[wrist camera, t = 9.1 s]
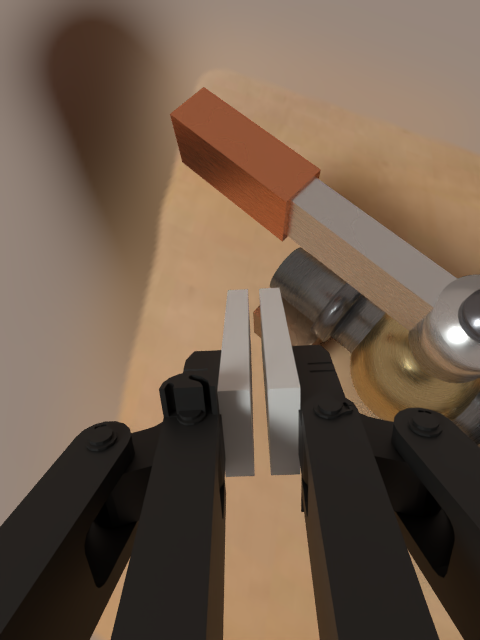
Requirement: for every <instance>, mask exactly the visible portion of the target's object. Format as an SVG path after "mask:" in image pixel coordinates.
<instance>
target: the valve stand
mask: <svg viewBox="0 0 480 640" xmlns="http://www.w3.org/2000/svg"><path fill="white" fill-rule="evenodd" d="M270 288H279V289H280V293H281V298H282V303H283V307H284V312H285V317H286V322H287V326H288V331H289V336H290V341H291V345H292V346H301V345H320V344H321V343H322V341H323V342H325V341H327V340H328V339H329V338H330V337H332V338H334V339H335V340H336V341H337V342H338V343H340V344H341V345H342V346H343V347H345V348H346V349H347V350H348V351H350V352H351V353H352V354H351V361H350V369H351V377H352V381H353V384H354V387H355V390H356V392H357V394H358V395H359V397H360V399H361V400H362V402H363V403H364V404H365V405H366V406H367V408H368V409H370V410H371V411H372V412H373V413H374V414H375V415H377V416H378V417H379V418H381V419H383V420H386V421H392V422H394V416H395V415H396V414H397V413H398V412H399V411H401V410H404V409H407V408H425V409H430V410H433V411H436V412H438V413H441V414H443V415H444V416H446V417H447V418H449V419H450V420H451V421H452V422H453V423H455V424H456V425H457V426H458V427H459V428H460V429H461V430H462V431H463V432H464V433H465V434H466V435H467V436H468V437H469V438H470V439H471V440H472V441H474V442H475V443H476V444H477V445H478V446H479V447H480V378H478V379H475V380H473V381H470V382H466V383H449V382H445V381H441V380H439V379H437V378H435V377H433V376H431V375H430V374H428V373H427V372H426V371H424V370H423V369H422V368H421V367H420V366H419V364H418V363H417V362H416V360H415V359H414V357H413V355H412V353H411V350H410V347H409V341H408V334H409V331H408V330H407V329H406V328H404V327H403V326H402V325H401V324H399V323H398V322H397V321H396V320H394V319H393V318H392V317H390V316H389V315H388V314H387V313H385V312H384V311H383V310H381V309H380V308H379V307H378V306H376V305H375V304H374V303H373V302H371V301H370V300H369V299H367V298H366V297H365V296H364V295H362V294H361V293H360V292H359V291H357V290H356V289H355V288H353V287H352V286H351V285H350V284H348V283H347V282H346V281H344V280H343V279H342V278H341V277H339V276H338V275H337V274H336V273H334V272H333V271H332V270H330V269H329V268H328V267H327V266H325V265H324V264H323V263H321V262H320V261H319V260H318V259H316V258H315V257H314V256H313V255H311V254H309V253H308V252H307V251H305V250H304V249H303V248H298V249H296V250H294V251H293V252H292V253H291V254H290V255H289V256H288V257H287V258H286V259H285V260H284V261H283V263H282V264H281V265H280V266H279V268H278V269H277V271H276V272H275V274H274V276H273V278H272V280H271V283H270ZM253 316H254V332H255V333H256V334H257V335H258V336H259V337H261V318H260V306H259V307H258V308H257V309H256V310H255V311H254V312H253Z"/></svg>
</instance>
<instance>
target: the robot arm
mask: <svg viewBox="0 0 480 640" xmlns="http://www.w3.org/2000/svg"><path fill="white" fill-rule="evenodd" d="M259 294H260V318H261V342H262V359H263V373H264V386H265V400H266V413H267V427H268V440H269V454H270V467H271V475H292V474H300V468H301V474H302V494H301V512H304V514H305V523H306V531H307V539H308V547H309V555H310V563H311V572H312V580H313V588H314V596H315V604H316V612H317V620H318V629H319V637H320V640H439V637H438V634H437V632H436V629H435V626H434V623H433V620H432V617H431V615H430V612H429V609H428V606H427V603H426V600H425V598H424V595H423V592H422V589H421V586H420V584H419V581H418V578H417V575H416V572H415V569H414V567H413V564H412V561H411V558H410V555H409V553H408V551H409V552H410V554H411V555H412V557H413V559H414V560H415V562H416V563H417V565H418V567H419V568H420V570H421V571H422V573H423V575H424V576H425V578H426V579H427V581H428V583H429V584H430V586H431V587H432V589H433V591H434V592H435V594H436V595H437V597H438V599H439V600H440V602H441V603H442V605H443V607H444V608H445V610H446V611H447V613H448V615H449V616H450V618H451V619H452V621H453V623H454V624H455V626H456V627H457V629H458V631H459V632H460V634H461V635H462V637H463V639H464V640H480V447H479V446H478V445H477V444H476V443H475V442H474V441H472V440H471V439H470V438H469V437H468V436H467V435H466V434H465V433H464V432H463V431H462V430H461V429H460V428H459V427H458V426H457V425H456V424H455V423H453V422H452V421H451V420H450V419H449V418H447V417H446V416H444V415H443V414H441V413H438V412H436V411H433V410H430V409H425V408H407V409H404V410H401V411H399V412H398V413H397V414H396V415H395V416H394V422H392V421H386V420H381V419H375V418H371V417H368V416H365V415H363V414H361V413H359V412H358V409H357V408H356V406H355V405H354V403H353V402H351V401H350V400H348V399H347V398H345V395H344V392H343V390H342V387H341V384H340V381H339V379H338V376H337V373H336V372H335V368H334V365H333V364H332V360H331V357H330V354H329V352H328V351H326V350H325V349H324V348H323V347H322V346H320V345H301V346H292V345H291V341H290V336H289V331H288V326H287V322H286V317H285V312H284V307H283V303H282V298H281V293H280V289H279V288H264V289H259ZM159 392H160V398H161V404H162V410H163V415H164V419H163V422H162V423H160V424H158V425H156V426H155V427H152V428H149V429H146V430H142V431H138V432H134V433H131V432H130V428H129V427H127V426H126V425H125V424H124V423H120V422H116V421H111V422H103V423H99V424H95V425H93V426H91V427H89V428H87V429H85V430H84V431H82V432H81V433H80V434H79V435H78V436H77V437H76V438H75V439H74V440H73V441H72V442H71V444H70V445H69V446H68V447H67V449H66V450H65V451H64V452H63V453H62V454H61V456H60V457H59V458H58V459H57V460H56V461H55V463H54V464H53V465H52V466H51V467H50V469H49V470H48V471H47V472H46V473H45V474H44V476H43V477H42V478H41V479H40V480H39V482H38V483H37V484H36V485H35V486H34V488H33V489H32V490H31V491H30V492H29V493H28V495H27V496H26V497H25V498H24V499H23V501H22V502H21V503H20V504H19V505H18V506H17V508H16V509H15V510H14V511H13V512H12V514H11V515H10V516H9V517H8V518H7V519H6V521H5V522H4V523H3V524H2V526H1V527H0V640H90V638H91V636H92V634H93V632H94V630H95V628H96V626H97V624H98V622H99V620H100V617H101V615H102V613H103V611H104V609H105V607H106V605H107V603H108V601H109V599H110V597H111V595H112V593H113V591H114V589H115V587H116V585H117V583H118V581H119V579H120V577H121V575H122V573H123V571H124V569H125V567H126V564H127V562H128V560H129V558H130V561H129V565H128V569H127V574H126V578H125V582H124V586H123V590H122V595H121V599H120V603H119V607H118V611H117V616H116V620H115V624H114V628H113V632H112V636H111V640H223V614H224V565H225V516H226V488H225V474H226V477H235V476H254V439H253V402H252V365H251V340H250V321H249V303H248V289H244V290H228V294H227V303H226V313H225V322H224V332H223V341H222V350H217V351H195V352H194V353H193V354H192V355H191V356H190V357H189V358H188V359H187V360H186V362H185V366H184V372H183V374H178V375H176V376H173V377H171V378H169V379H168V380H166V381H165V382H163V384H162V385H161V387H160V388H159ZM407 549H408V550H407ZM130 556H131V557H130Z"/></svg>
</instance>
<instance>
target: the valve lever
mask: <svg viewBox="0 0 480 640" xmlns="http://www.w3.org/2000/svg"><path fill="white" fill-rule="evenodd" d="M170 116H171V120H172V124H173V128H174V132H175V136H176V139H177V143H178V147H179V151H180V155H181V159H182V162H183V163H184V164H185V165H187V166H188V167H189V168H190V169H192V170H193V171H194V172H195V173H197V174H198V175H199V176H200V177H202V178H203V179H204V180H206V181H207V182H208V183H209V184H211V185H212V186H213V187H214V188H216V189H217V190H218V191H219V192H221V193H222V194H223V195H224V196H226V197H227V198H228V199H230V200H231V201H232V202H233V203H235V204H236V205H237V206H238V207H240V208H241V209H242V210H243V211H245V212H246V213H247V214H248V215H250V216H251V217H252V218H254V219H255V220H256V221H257V222H259V223H260V224H261V225H262V226H264V227H265V228H266V229H267V230H269V231H270V232H271V233H272V234H274V235H275V236H276V237H278V238H279V239H280V240H281V241H283V240H284V239H285V238H287V237H290V238H291V239H292V240H293V241H295V242H296V243H297V244H299V245H300V246H301V247H302V248H304V249H305V250H306V251H307V252H309V253H310V254H311V255H313V256H314V257H315V258H316V259H318V260H319V261H320V262H321V263H323V264H324V265H325V266H327V267H328V268H329V269H330V270H332V271H333V272H334V273H336V274H337V275H338V276H339V277H341V278H342V279H343V280H344V281H346V282H347V283H348V284H350V285H351V286H352V287H353V288H355V289H356V290H357V291H359V292H360V293H361V294H362V295H364V296H365V297H366V298H367V299H369V300H370V301H371V302H373V303H374V304H375V305H376V306H378V307H379V308H380V309H381V310H383V311H384V312H385V313H387V314H388V315H389V316H390V317H392V318H393V319H394V320H396V321H397V322H398V323H399V324H401V325H402V326H403V327H404V328H406V329H407V330H408V331H409V334H408V341H409V347H410V350H411V353H412V355H413V357H414V359H415V360H416V362H417V363H418V364H419V366H420V367H421V368H422V369H423V370H424V371H426V372H427V373H428V374H430V375H431V376H433V377H435V378H437V379H439V380H441V381H445V382H449V383H466V382H470V381H473V380H475V379H478V378H480V275H468V276H464V277H461V278H458V279H457V278H456V277H454V276H453V275H452V274H450V273H449V272H447V271H446V270H445V269H443V268H442V267H440V266H439V265H438V264H436V263H435V262H433V261H432V260H431V259H429V258H428V257H426V256H425V255H424V254H422V253H421V252H419V251H418V250H417V249H415V248H414V247H412V246H411V245H410V244H408V243H407V242H405V241H404V240H403V239H401V238H400V237H398V236H397V235H396V234H394V233H393V232H391V231H390V230H389V229H387V228H386V227H385V226H383V225H382V224H380V223H379V222H378V221H376V220H375V219H373V218H372V217H371V216H369V215H368V214H366V213H365V212H364V211H362V210H361V209H359V208H358V207H357V206H355V205H354V204H352V203H351V202H350V201H348V200H347V199H345V198H344V197H343V196H341V195H340V194H338V193H337V192H336V191H334V190H333V189H331V188H330V187H329V186H327V185H326V184H324V183H323V182H322V181H320V180H319V175H320V169H319V168H318V167H316V166H315V165H313V164H312V163H310V162H309V161H308V160H306V159H305V158H303V157H302V156H301V155H299V154H298V153H296V152H295V151H294V150H292V149H291V148H289V147H288V146H286V145H285V144H284V143H282V142H281V141H279V140H278V139H277V138H275V137H274V136H272V135H271V134H269V133H268V132H267V131H265V130H264V129H262V128H261V127H260V126H258V125H257V124H255V123H254V122H252V121H251V120H250V119H248V118H247V117H245V116H244V115H243V114H241V113H240V112H238V111H237V110H235V109H234V108H233V107H231V106H230V105H228V104H227V103H226V102H224V101H223V100H221V99H220V98H218V97H217V96H216V95H214V94H213V93H211V92H210V91H209V90H207V89H206V88H204V87H203V88H202V89H201V90H199V91H198V92H197V93H196V94H194V95H193V96H192V97H191V98H189V99H188V100H187V101H186V102H185V103H183V104H182V105H181V106H179V107H178V108H177V109H176V110H174V111H173V112H172V113H171V114H170Z"/></svg>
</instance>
